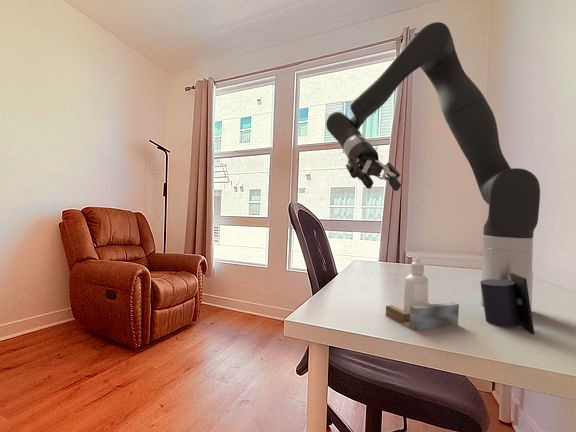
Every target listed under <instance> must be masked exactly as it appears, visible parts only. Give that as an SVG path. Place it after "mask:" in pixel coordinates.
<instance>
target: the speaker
mask: <svg viewBox="0 0 576 432" xmlns="http://www.w3.org/2000/svg"><path fill="white" fill-rule="evenodd" d="M510 277H511V281H508V280H502V279H487V280H482V279H481V280H480V289H481V290H482V297H483V304H484V305H483V310H484V316H485V322H486V323H488V324H490V325H493V326H494V325H495V326H498V327H505V328H515V327H519V326H520V327H521V328H522V329H524V330H525V331H526V332H528V333H529V334H531V335H533V336H534V335H535V329H534V327H535V326H534V321H533V316H532V315H533V314H532V310H531V307H530V301H529V294H528V287H527V281H526V278H524V277H521V276H518V275H516V274H513V273H510ZM481 290H480V291H481Z"/></svg>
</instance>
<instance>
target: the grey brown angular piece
mask: <svg viewBox="0 0 576 432" xmlns="http://www.w3.org/2000/svg"><path fill="white" fill-rule="evenodd" d="M459 306H460V304H459V303H457V302H443V303H434V304H433V303H429V302H428V305H422V306H412V307H410V314H409V313H407V312H405V311H404V309H401V308H399V307H396V306H395V305H393V304H391V305H386V306H385V316H386V317H388V318H390V319H392V320H394V321H395V322H398V323H400V324H401V325H403V326H405V327H406V328H409V329H411V330H412V331H421V330H429V329H430V330H431V329H435V328H443V327H444V328H445V327H450V326H458V325H459V312H460V311H459V309H460V307H459Z"/></svg>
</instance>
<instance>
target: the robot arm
mask: <svg viewBox="0 0 576 432" xmlns="http://www.w3.org/2000/svg"><path fill="white" fill-rule="evenodd" d="M397 55H398V56H397V57H395V58H394V60H393V61H392V63H390V65H388V66H387V68H386V69H385V70H384V71H383V72H382V73H381V75H379V76H378V78H377V79H376V80H375V81H373V82H372V84H370V85H369V86H368V87H366V89H365V90H364V91H362V92H361V93H360V94H359V95H358V96H357V97H356V98H355V99H354V100H353V101H352V102H351V103H350V110H351V113H352V116H351V118H349V117H348V116H347V115H346V114H344V113H343V112H341V111H339V110H338V111H333V112H331V113H330V114H329V115H328V117H327V119H326V121H325V124H326V125H325V127H326V129H327V132H329V134H330V135H331V136H332V137H333V138H334V139H335V140H336V141H337V142H338V143H339V145H340V146H341V147H340V148H342V150H343V152H344V154H345V155H346V158H347V159H348V161H347V163H346V165H345V167H346V169H347V170H348V173H349V174H350V177H351V178H352V179H356V178H357V179H358V180H359V181H361V182H362V184H363V186H365V187H366V189H369V190H371V189H372V186H373V185H374V181H373V179H372V178H371V177H372V176H374V177H376V178H378V179H379V180H381V181H382V180H384V181H386V182H387V183H388V185H389V186H390V187H391V188H392V190H393V191H394V192H398V191H399V189H401V187H402V184H401V182H400V181H399V180H398V179H399V178H400V176H401V174H400V172H399V171H398V170H397V169H396V168H395V167H394V165H392V164H391V162H387V163H386V164H383V163H382V162H381V161H380V160H379V153H378V151H377V150H376V149H375V148H374V147H373V145H372V144H371V143H370V141H369V140H368V139H367V138H366V137H364V135H363V134H362V133H361V132H360V131H359V129H360V128H361V127H362V125H364V123H365V122H366V120H367V119H369V117H370V116H371V115H373V114H374V113H375V112H376V111H378V109H380V108H381V107H383V105H384V104H386V102H387V101H388V100H389V99H390V98H391V96H392V95H393V94H394V92H395V91H396V90H397V88H398V87H399V86H400V85H401V84H402V82H403V81H404V80H406V79H407V78H408V77H409V76H410V75H411V74H412V73H413V72H415V71H417V70H418V69H421V70H422V71H423V72H424V75H425V76H427V79H429V82H430V83H431V84H432V87H433V88H434V89H435V93H436V95H437V98H438V102H439V106H440V109H441V112H442V115H443V117H444V120H445V121H446V124H447V125H448V128H449V129H450V131H451V133H452V135H453V138H454V139H455V141H456V142H457V144H458V146H459V147H460V150H461V152H462V153H463V155H464V156H465V158H466V160H467V162H468V163H469V166H470V168H471V171H472V172H473V174H474V178H475V181H476V184H477V186H478V190H479V192H480V195H481V197H482V199H483V201H484V202H485V203H486V204H487V205H488V215H487V220H486V221H485V223H484V225H483V235H482V236H483V237H482V263H481V281H482V280H487V279H502V280H508V281H511V277H510V273H513V274H516V275H518V276H521V277H524V278H526V281H527V287H528V294H529V301H530V307H531V311H532V310H533V309H532V308H533V307H532V306H533V282H534V271H533V259H534V258H533V253H534V252H533V249H534V232H535V230H536V227H537V225H538V224H539V223H538V221H539V215H540V213H539V212H540V205H541V204H540V202H541V187H540V186H541V185H540V182H539V179H538V178H537V176H536V175H535V174H534V173H533V172H531V171H530V170H527V169H524V168H518V167H516V168H515V167H514V168H511V166H510V165H509V163H508V161H507V159H506V158H505V156H504V154H503V151H502V149H501V146H500V145H501V144H500V138H499V131H498V125H497V122H496V121H497V120H496V117H495V114H494V112H493V110H492V108H491V106H490V105H489V102H488V101H487V100H486V97H485V96H484V94H483V93H482V92H481V90H480V89H479V88H478V86H477V85H476V83H474V81H473V80H471V78H470V77H469V76H468V75H467V73H466V72H465V71H464V69H463V66H462V64H461V61H460V59H459V57H458V53H457V51H456V47H455V44H454V39H453V36H452V33H451V31H450V28H449V26H447V25H446V23H443V22H440V21H439V22H438V21H437V22H432V23H428V24H427V25H425V26H424V27H422V28H421V29H420V30H419V31H418V32H417V33H416V34H415V35H414V36H413V38H412V39H411V40H410V41H409V43H408V44H407V45H405V47H404V48H403V49H402V51H401V52H400V53H399V54H397ZM382 171H383V173H382ZM480 291H481V292H480V293H481V294H480V304H481V305H482V306H484V304H483V297H482V290H480Z"/></svg>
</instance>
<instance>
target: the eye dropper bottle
mask: <svg viewBox="0 0 576 432" xmlns="http://www.w3.org/2000/svg"><path fill="white" fill-rule="evenodd" d="M424 268H425V266H424V264H423V263H422V262H421V258H420V257H418V256H416V257H415V259H414V261H413V262H412V263H410V274H408V275H407V276H406V278H405V279H404V290H403V311H405V312H407V313H409V314H410V307H412V306H422V305H428V303H429V278H428V277H427V276H426V275H424V273H425V271H424V270H425V269H424Z"/></svg>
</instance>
